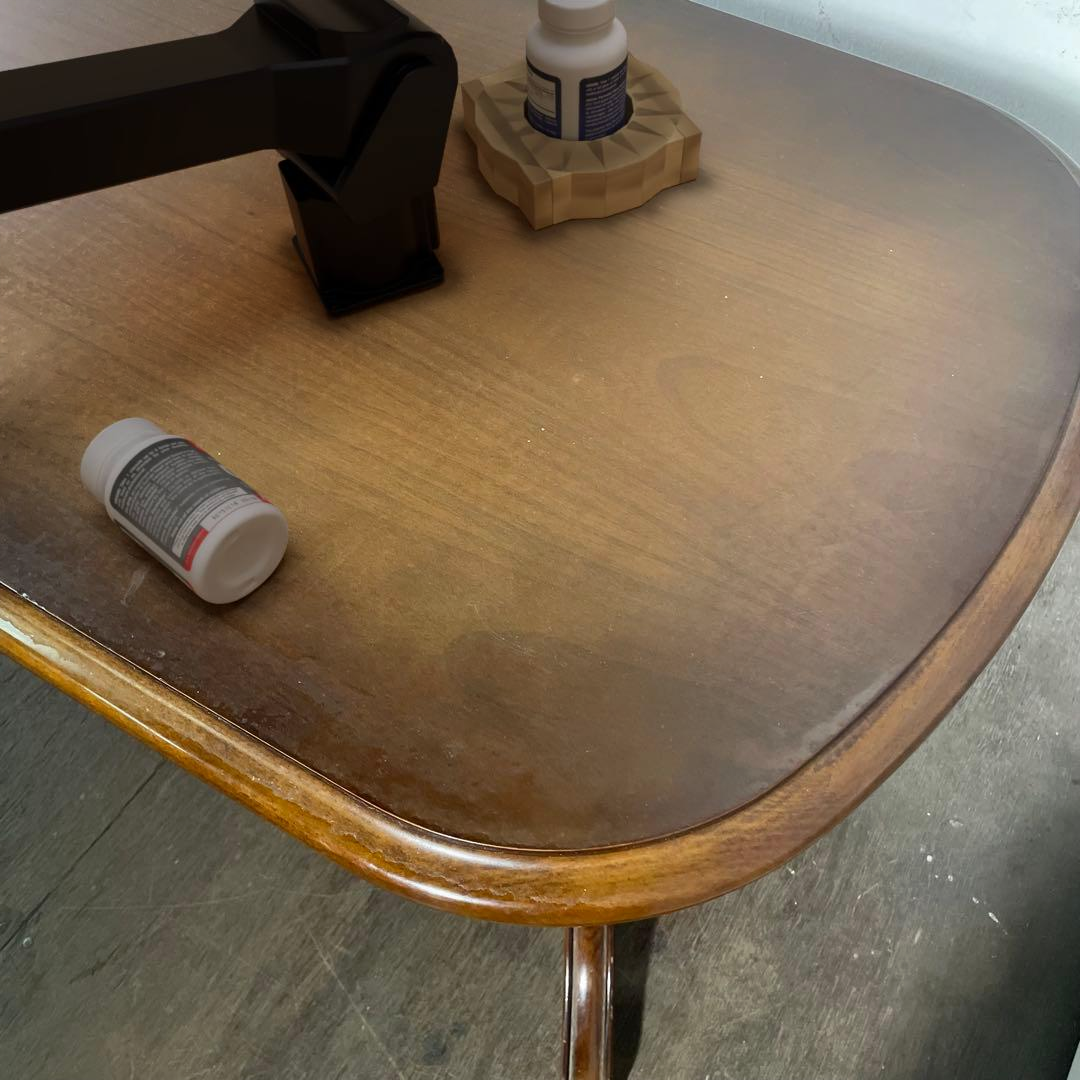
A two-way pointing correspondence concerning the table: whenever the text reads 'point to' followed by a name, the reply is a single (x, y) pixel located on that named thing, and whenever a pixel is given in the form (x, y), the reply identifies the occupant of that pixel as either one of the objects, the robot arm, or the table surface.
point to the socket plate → (580, 148)
